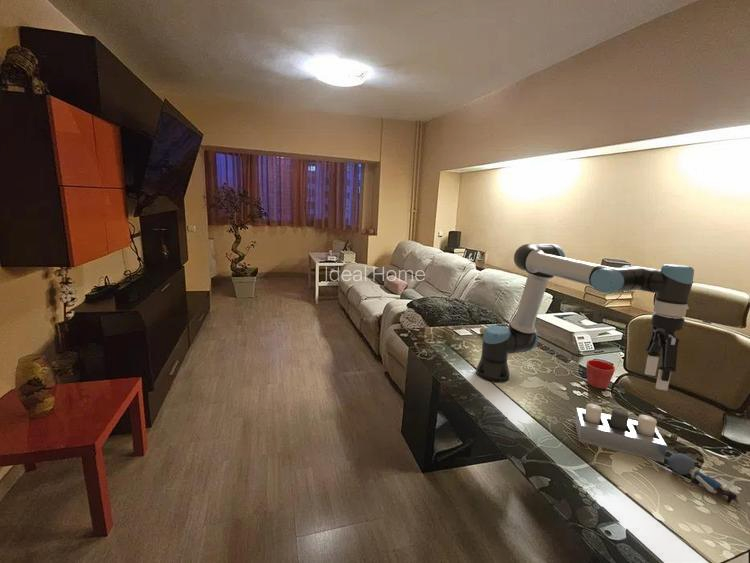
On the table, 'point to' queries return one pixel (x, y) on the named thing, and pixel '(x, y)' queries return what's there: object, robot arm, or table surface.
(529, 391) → the table surface
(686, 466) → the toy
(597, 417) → the knob
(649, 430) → the knob
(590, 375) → the flower pot
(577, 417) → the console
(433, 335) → the table surface
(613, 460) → the table surface
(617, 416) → the knob mid
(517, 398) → the table surface
